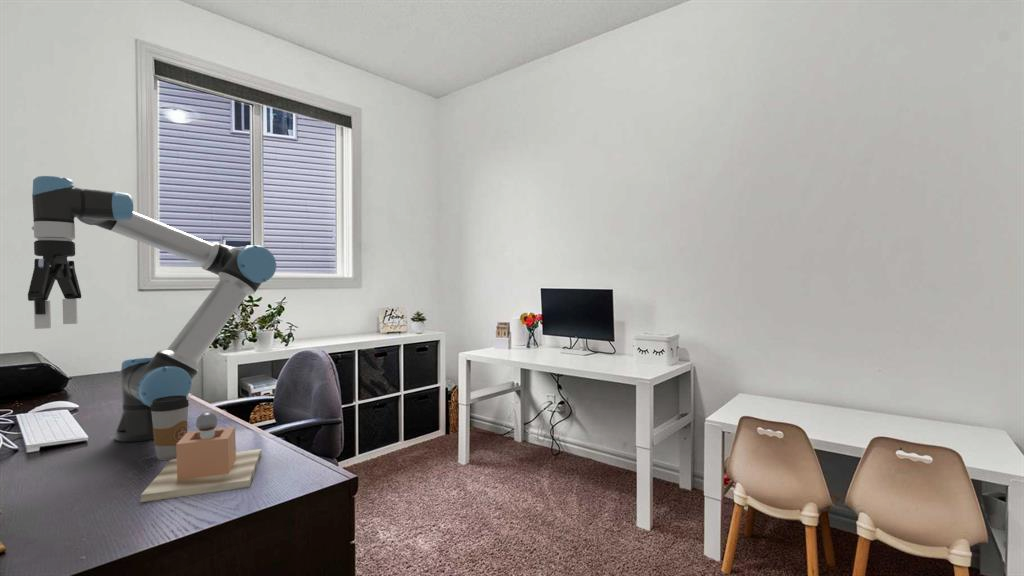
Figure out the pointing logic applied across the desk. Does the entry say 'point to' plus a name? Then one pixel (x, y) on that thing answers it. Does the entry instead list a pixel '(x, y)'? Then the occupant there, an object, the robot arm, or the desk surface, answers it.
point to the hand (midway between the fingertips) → (57, 326)
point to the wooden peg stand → (237, 477)
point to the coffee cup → (169, 424)
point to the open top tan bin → (206, 454)
